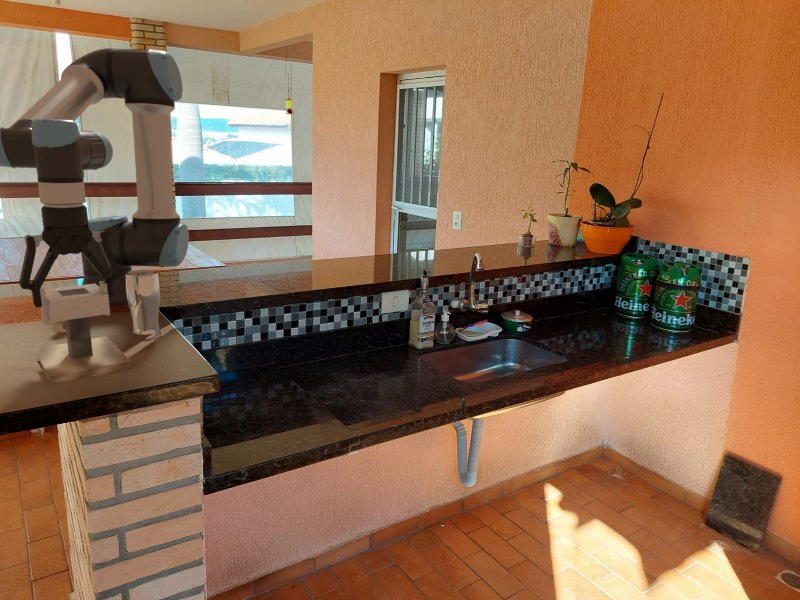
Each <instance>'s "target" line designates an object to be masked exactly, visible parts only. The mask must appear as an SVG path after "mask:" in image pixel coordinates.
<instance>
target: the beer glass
mask: <svg viewBox="0 0 800 600" xmlns="http://www.w3.org/2000/svg"><path fill="white" fill-rule="evenodd" d="M159 280H160V279H159V273H158V270H154V269H136V270H132V271H129V272H127V273H126V295H127V301H128V305H127V306H128V308H129V311H130V315H131V319H132V334H135V335H139V336H141V335H143V336H145V335H148V336H147V337H145V338H144V339H142V340H141V342H146V341H154V340H157V339H160V337H162V332H161V328H160V325H159V312H160V304H161V287H160V281H159Z"/></svg>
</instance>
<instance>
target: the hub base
mask: <svg viewBox="0 0 800 600" xmlns="http://www.w3.org/2000/svg"><path fill="white" fill-rule="evenodd" d="M65 325H66V332H65V333H66V341H67V342H64V343H58V344H52V345H46V346H40V347H34V348H32V350H33V352H34V353H35V354H36V356H37V359H38V360H36V362H37V363H38V365H39V367H40V368H41V370H42V372H43V373H44V375H45V377H46V379H47V381H48V382H49V384H50V385H54V384H59V383H64V382H69V381H73V380H79V379H85V378H87V377H88V378H89V377H93V376H99V375H103V374H108V373H115V372H118V371H124V370H128V369H132V360H131V359H130V358H129V357H127V355H125V353H124V352H123V351H122V350H121V349H119V348H118V346H117V345H116V344H115V343H114V342H113V341H112V340H111V339H110V338H109V337H108V336H101V337H95V338H92V335H91V325H90V317H85V318H78V319H71V320H65Z"/></svg>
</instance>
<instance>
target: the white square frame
mask: <svg viewBox="0 0 800 600" xmlns="http://www.w3.org/2000/svg"><path fill="white" fill-rule="evenodd" d="M43 289H44V288H43ZM44 290H45V294H46V302H47V310H48V318H49V321H51V323H56V322H62V321H64V320H71V319H78V318H85V317H89V318H91V317H98V316H104V315H105V316H106V314H110V315H111V308H110V305H109V297H108V294H107V293H106V292H105V291H104V290H102V289H101V288H100V287H99V286H98V285H96V284H88V285H82V284H81V285H70V286H63V287H55V288H45V289H44Z"/></svg>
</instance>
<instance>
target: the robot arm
mask: <svg viewBox="0 0 800 600" xmlns="http://www.w3.org/2000/svg"><path fill="white" fill-rule="evenodd" d="M183 90H184V89H183V81H182V76H181V72H180V69H179V66H178V64H177V62H176V60H175V59H174V56H172V55H171V54H170V53H169V52H167V51H164V50H157V49H151V48H149V49H145V48H144V49H141V48H137V49H136V48H135V49H134V48H132V49H131V48H113V47H111V48H108V47H107V48H101V49H97V50H93V51H91V52H88V53H87V54H84V55H82V56H80V57H78V58H77V59H76V60H74V61H72V62H71V63H70V64H69V65H67V66H66V67H65V68H64V69H63V71H62V73H61V75H60V80H59V81H58V82H56V84H54V85H53V86H52V87H51V88H50V89H49V90H48V91H47V92H45V94H44V95H42V97H41V98H40V99H39V100H37V101H36V102H35V103H34V104H33V105H32V106H31V107H30V108H29V109H27V111H26V112H24V113H23V114H22V115H21V116H20V117H19V118H18V119H17V120H16V121H14V123H13V124H12V125H11V126H10V127H7V128H6V127H2V126H1V127H0V167H5V168H12V169H16V168H17V169H18V168H19V169H25V168H26V169H36V175H37V184H38V194H39V202H40V203H41V204H42V205H43V206H41V208H40V211H41V212H40V213H41V218H42V225H43V226H42V227H43V228H42V232H41V234H36V235H35V234H34V235H31V234H26V235H25V236H24V241H25V242H24V243H25V246H26V247H25V248H26V249H25V252H24V257H23V258H24V259H23V262H22V268H21V272H20V277H19V281H18V284H19V287H20V288H21V289H23V290H29V291H31V295H32V303H33V305H34V307H35V308H40V314H41V315H40V316H41V320H42V321H41V322H43V324H44V325H50V319H49V318H48V310H47V302H46V294H45V290H44V287H43V285H44V283H45V280H46V279H47V276H48V275H49V273H50V271H51V269H52V267H53V266H54V263H55V262H56V260H57V259H58V257H59V255H61V256H66V255H69V254H74V255H79V254H81V255H80V256H81V263H82V264H81V265H82V273H83V277H82V278H83V279H82V282H81V285H88V284H96V285H98V286H99V287H100V288H101V289H102V290H104V291H105V292H106V293H107V294H108V297H109V306H114V305H123V306H126V305H127V306H129V305H128V301H127V295H126V273H127V272H129V271H133V270H132V267H158V268H169V267H170V268H174V267H178V266H180V265H181V264H182V263H183V261H184V260H185V258H186V256H187V252H188V248H189V244H190V243H189V241H190V234H189V228H188V226H187V225H186V224H185V223H184V222H181V215H180V214H179V213H177V211H175V209H174V194H173V175H172V174H173V173H172V172H173V171H172V153H171V151H172V150H171V135H170V133H171V129H170V114H171V113H172V112H173V111H175V109H176V105H175V104H176V103H175V102H178V101H180V100H181V99H182V98H183V92H184V91H183ZM104 99H124V106H125V107H126V109H128V110H129V111H130V112H131V114H132V131H133V132H132V133H133V146H134V147H133V148H134V163H135V164H134V165H135V166H134V167H135V179H136V180H135V181H136V196H137V199H136V201H137V210H136V211H135V212H134V213H133V214H132V215H131V217H132V218H131V220H132V221H129V219H128V217H127V215H112V216H111V215H110V216H104V217H97V218H90V219H89V218H88V217H89V216H88V215H89V214H88V207H86V205H84V204H85V203H86V202H87V199H86V198H87V197H86V189H85V180H84V171H88V170H89V171H91V170H93V171H97V170H99V169H103V168H104V167H107V166H108V165H109V164H110V163H111V161H112V159H113V157H114V156H113V154H114V149H113V146H112V144H111V141H110V140H109V139H108V138H107V137H106V136H105V135H104V134H102V133H99V132H97V131H93V130H79V125H78V123H77V120H78V118H79V117H80V116H81V115H82V114H83V113H84V112H85V111H86V110H87V108H88V107H89V106H93V105H95V104H96V105H97V104H98V103H100V102H101V101H102V100H104ZM42 241H43V242H44V243H45V244H46V245H47V246H48V249H47V251H46V253H45V256H44V259H43V260H42V262H41V264H40V266H39V268H38V269H37V272H36V274H35V276H34V278H33V279H32V281H31V277H32V273H33V269H34V268H33V267H34V263H35V259H36V258H35V257H36V253H37V248H39V246H40V244H41V242H42ZM110 315H111V313H110V314H106V315H105V316H110Z"/></svg>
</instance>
